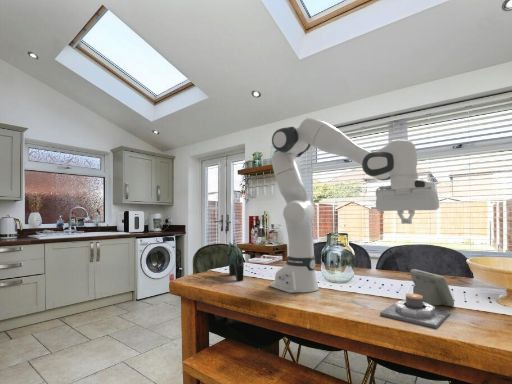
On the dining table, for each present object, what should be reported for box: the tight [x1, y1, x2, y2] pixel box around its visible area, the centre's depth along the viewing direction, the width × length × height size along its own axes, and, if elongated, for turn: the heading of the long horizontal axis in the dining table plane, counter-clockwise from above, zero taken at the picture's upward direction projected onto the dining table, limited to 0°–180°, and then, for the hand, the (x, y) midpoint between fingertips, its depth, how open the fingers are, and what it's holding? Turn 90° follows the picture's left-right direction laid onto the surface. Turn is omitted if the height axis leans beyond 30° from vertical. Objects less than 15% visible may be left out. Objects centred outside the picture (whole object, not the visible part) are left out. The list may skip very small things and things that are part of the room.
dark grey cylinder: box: [405, 293, 423, 309], centre depth 96 cm, size 5×5×5 cm
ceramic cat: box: [226, 239, 245, 282], centre depth 157 cm, size 20×6×20 cm, turn 17°
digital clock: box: [409, 268, 455, 307], centre depth 110 cm, size 16×9×11 cm, turn 0°
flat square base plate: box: [379, 299, 451, 329], centre depth 96 cm, size 16×16×3 cm
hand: (406, 223), depth 104 cm, fingers closed
